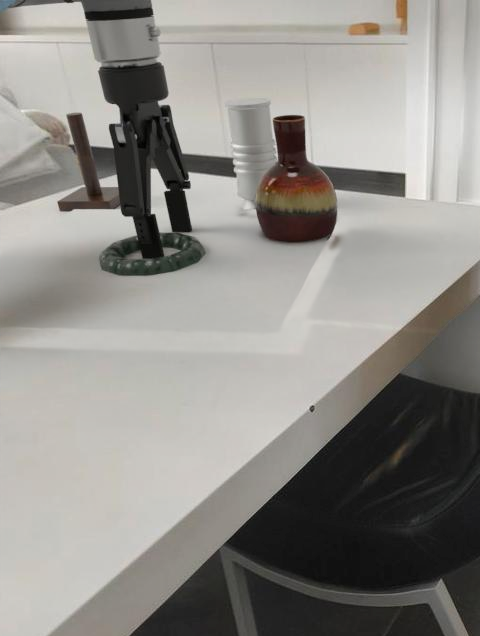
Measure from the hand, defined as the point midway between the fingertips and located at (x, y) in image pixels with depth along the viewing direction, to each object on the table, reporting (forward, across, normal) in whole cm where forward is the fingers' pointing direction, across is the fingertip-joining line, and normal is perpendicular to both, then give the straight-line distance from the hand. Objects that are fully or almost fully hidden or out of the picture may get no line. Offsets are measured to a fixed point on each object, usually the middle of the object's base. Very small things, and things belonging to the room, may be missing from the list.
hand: (170, 252), depth 93 cm
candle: (0, +23, -7) cm, 24 cm away
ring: (-1, -5, 0) cm, 5 cm away
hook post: (0, +25, +22) cm, 33 cm away
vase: (0, +6, -17) cm, 18 cm away
